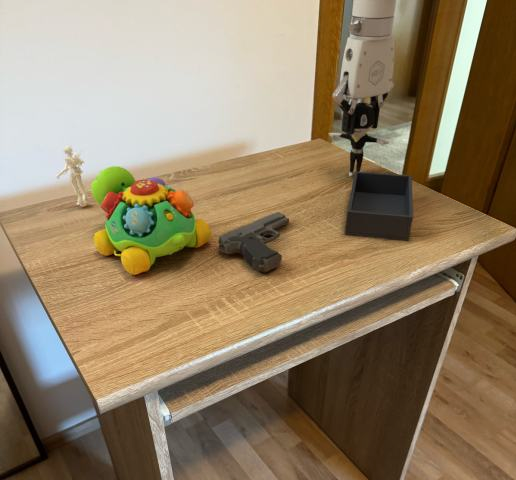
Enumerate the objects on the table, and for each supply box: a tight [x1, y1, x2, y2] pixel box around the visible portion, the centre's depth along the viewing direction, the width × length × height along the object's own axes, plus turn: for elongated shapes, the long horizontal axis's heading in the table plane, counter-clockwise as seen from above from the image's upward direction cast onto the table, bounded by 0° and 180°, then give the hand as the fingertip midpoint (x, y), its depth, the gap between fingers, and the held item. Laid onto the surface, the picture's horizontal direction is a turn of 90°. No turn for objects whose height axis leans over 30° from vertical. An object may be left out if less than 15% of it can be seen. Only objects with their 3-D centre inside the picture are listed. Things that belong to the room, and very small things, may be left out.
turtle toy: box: [90, 165, 212, 276], centre depth 83 cm, size 17×23×12 cm
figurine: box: [55, 145, 89, 208], centre depth 94 cm, size 5×6×12 cm
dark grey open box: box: [344, 170, 414, 241], centre depth 92 cm, size 11×18×4 cm, turn 167°
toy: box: [327, 101, 391, 177], centre depth 103 cm, size 13×6×15 cm, turn 62°
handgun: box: [218, 211, 290, 273], centre depth 84 cm, size 3×16×12 cm
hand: (359, 128), depth 101 cm, fingers closed on toy, 5 cm apart
